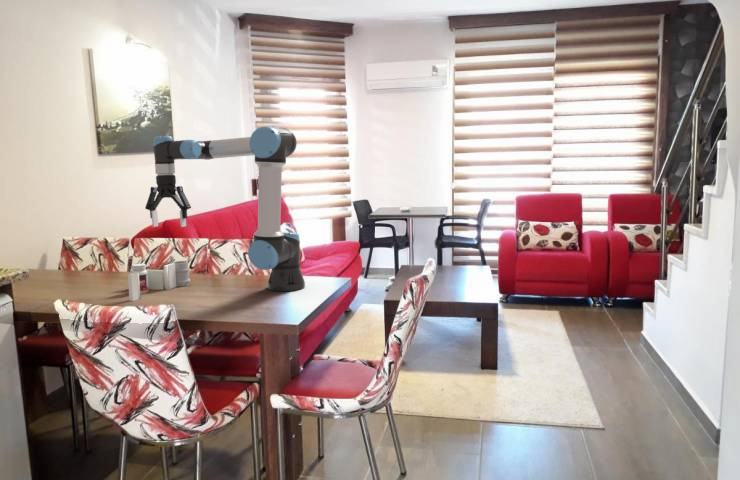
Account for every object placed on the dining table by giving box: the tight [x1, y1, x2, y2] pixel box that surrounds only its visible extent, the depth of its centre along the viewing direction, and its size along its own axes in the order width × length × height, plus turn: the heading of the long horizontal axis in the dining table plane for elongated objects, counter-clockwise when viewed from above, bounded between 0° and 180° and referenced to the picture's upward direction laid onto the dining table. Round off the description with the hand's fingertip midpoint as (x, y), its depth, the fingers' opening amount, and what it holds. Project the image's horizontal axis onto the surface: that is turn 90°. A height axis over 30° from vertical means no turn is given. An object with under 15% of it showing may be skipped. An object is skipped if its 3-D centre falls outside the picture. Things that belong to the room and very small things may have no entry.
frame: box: [127, 263, 177, 302], centre depth 228 cm, size 2×26×10 cm, turn 161°
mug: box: [169, 255, 192, 288], centre depth 245 cm, size 8×12×12 cm, turn 54°
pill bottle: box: [131, 263, 149, 295], centre depth 230 cm, size 6×6×11 cm
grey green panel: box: [129, 268, 165, 291], centre depth 236 cm, size 2×14×8 cm, turn 81°
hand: (169, 226), depth 236 cm, fingers open, 13 cm apart
